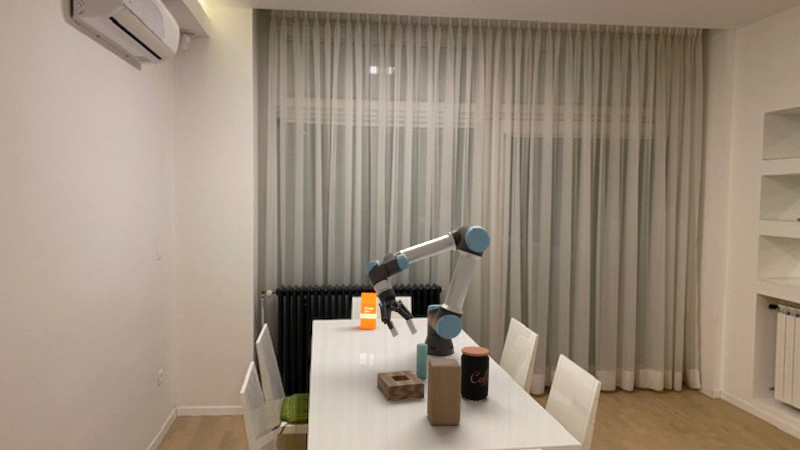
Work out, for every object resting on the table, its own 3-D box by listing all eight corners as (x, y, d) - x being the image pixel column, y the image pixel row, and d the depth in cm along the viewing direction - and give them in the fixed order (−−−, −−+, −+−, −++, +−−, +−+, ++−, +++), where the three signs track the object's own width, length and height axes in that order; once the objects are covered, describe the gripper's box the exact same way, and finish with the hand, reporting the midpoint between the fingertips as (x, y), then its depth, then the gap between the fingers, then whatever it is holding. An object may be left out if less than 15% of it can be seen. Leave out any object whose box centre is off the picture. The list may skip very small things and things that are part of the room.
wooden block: (426, 414, 194) (428, 357, 194) (455, 414, 195) (456, 357, 194) (430, 426, 185) (432, 366, 184) (460, 425, 185) (462, 366, 184)
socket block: (410, 383, 226) (410, 370, 226) (424, 397, 211) (424, 383, 210) (377, 386, 222) (377, 373, 221) (388, 400, 206) (388, 386, 206)
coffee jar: (470, 403, 206) (471, 355, 205) (454, 394, 215) (455, 348, 215) (493, 399, 211) (495, 352, 210) (477, 390, 220) (478, 345, 219)
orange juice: (375, 328, 319) (376, 294, 318) (360, 328, 319) (360, 293, 318) (376, 325, 327) (377, 291, 326) (361, 325, 327) (361, 291, 326)
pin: (424, 375, 237) (425, 343, 236) (428, 378, 233) (428, 345, 232) (414, 376, 236) (415, 343, 235) (418, 379, 231) (418, 346, 231)
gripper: (396, 296, 262) (416, 336, 253) (361, 297, 242) (381, 341, 233) (407, 287, 258) (428, 328, 250) (372, 288, 239) (393, 332, 230)
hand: (405, 334), depth 241 cm, fingers open, 13 cm apart
